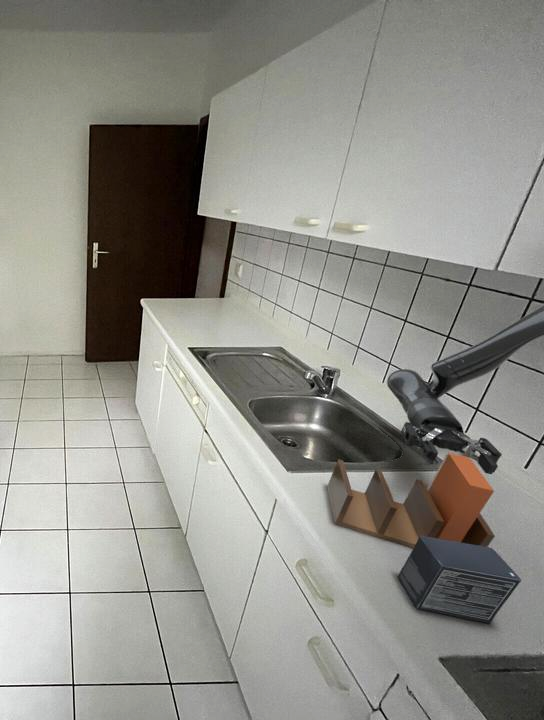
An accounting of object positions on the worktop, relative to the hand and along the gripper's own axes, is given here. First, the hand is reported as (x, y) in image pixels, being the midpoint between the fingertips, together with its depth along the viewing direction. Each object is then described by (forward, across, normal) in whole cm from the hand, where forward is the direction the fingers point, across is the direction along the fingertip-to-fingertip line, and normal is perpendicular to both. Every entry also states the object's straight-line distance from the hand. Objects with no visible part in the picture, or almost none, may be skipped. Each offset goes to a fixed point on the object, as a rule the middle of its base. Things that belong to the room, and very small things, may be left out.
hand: (462, 463), depth 74 cm
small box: (+20, -4, +16) cm, 26 cm away
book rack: (+4, -7, +16) cm, 17 cm away
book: (+3, 0, +14) cm, 15 cm away
